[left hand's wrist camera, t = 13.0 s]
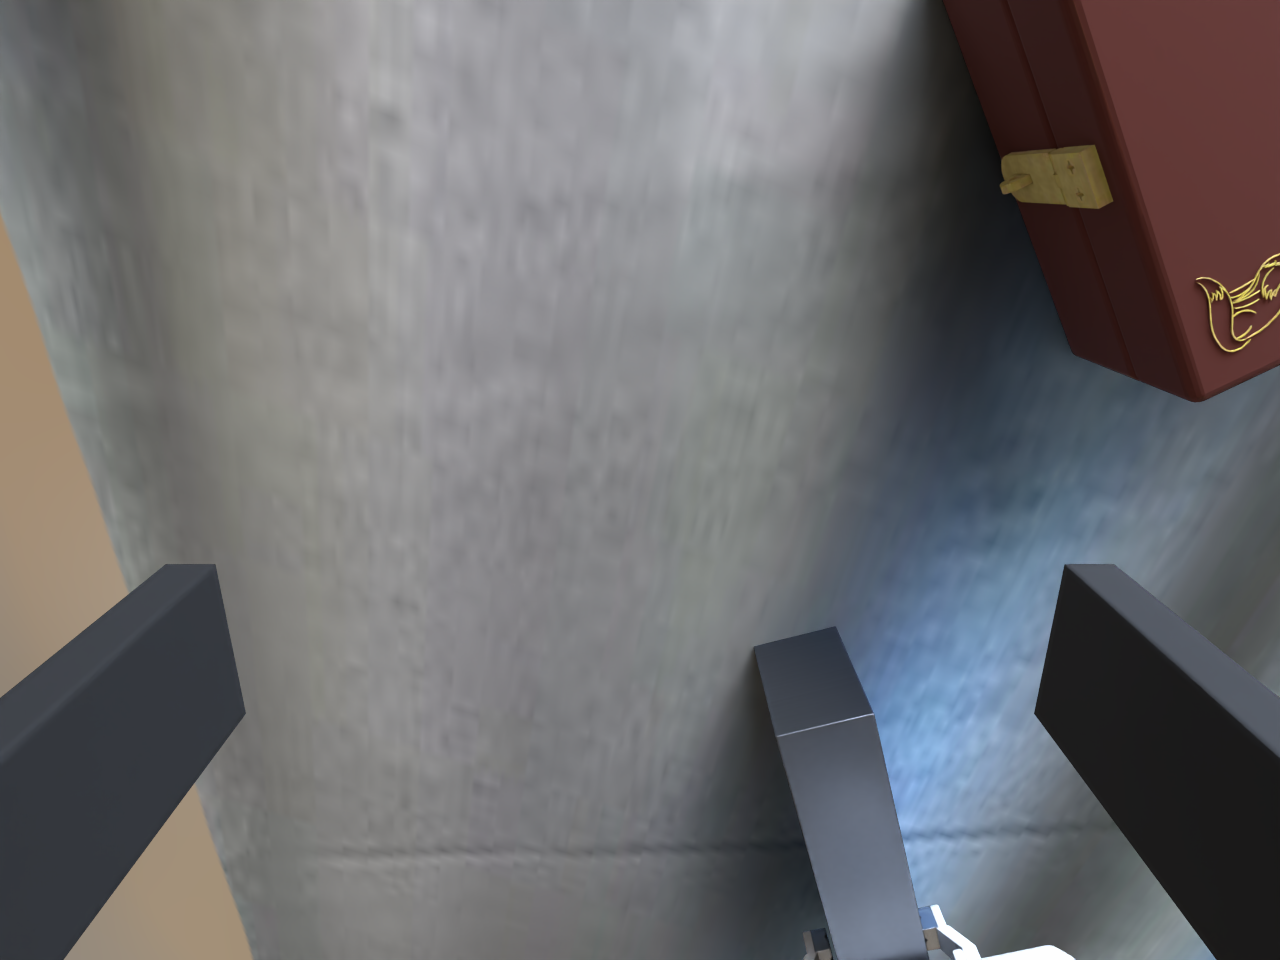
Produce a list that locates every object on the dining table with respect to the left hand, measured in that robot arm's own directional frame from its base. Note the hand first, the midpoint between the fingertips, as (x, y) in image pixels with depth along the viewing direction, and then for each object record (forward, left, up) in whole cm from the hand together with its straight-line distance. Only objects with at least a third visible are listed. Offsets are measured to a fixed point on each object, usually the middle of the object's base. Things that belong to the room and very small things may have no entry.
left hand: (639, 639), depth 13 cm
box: (-10, +24, -31) cm, 41 cm away
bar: (+30, +12, -31) cm, 45 cm away
